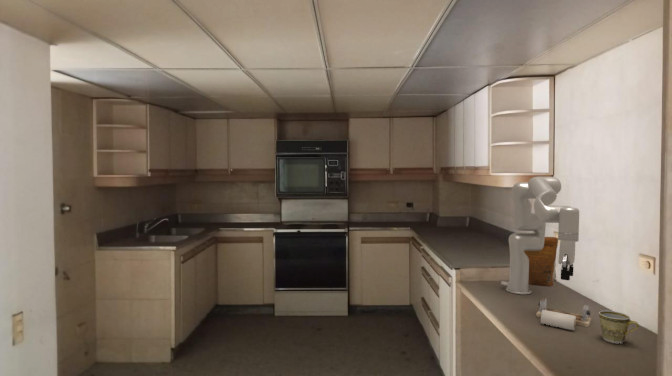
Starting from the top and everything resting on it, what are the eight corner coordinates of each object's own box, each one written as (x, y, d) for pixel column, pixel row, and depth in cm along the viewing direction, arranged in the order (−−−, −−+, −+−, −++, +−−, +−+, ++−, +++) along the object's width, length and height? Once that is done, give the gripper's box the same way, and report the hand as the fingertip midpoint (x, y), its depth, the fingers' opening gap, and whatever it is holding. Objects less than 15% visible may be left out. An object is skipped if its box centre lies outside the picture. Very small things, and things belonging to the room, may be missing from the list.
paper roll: (540, 325, 179) (540, 311, 179) (543, 321, 184) (544, 308, 183) (573, 332, 172) (573, 317, 171) (575, 328, 176) (576, 314, 176)
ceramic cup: (593, 339, 165) (594, 313, 164) (604, 333, 171) (605, 308, 170) (632, 350, 154) (633, 323, 154) (642, 344, 160) (643, 318, 160)
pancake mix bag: (557, 287, 238) (559, 238, 237) (520, 284, 244) (522, 235, 243) (555, 284, 244) (557, 236, 243) (519, 281, 250) (520, 234, 249)
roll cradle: (536, 316, 190) (536, 301, 189) (540, 311, 197) (541, 296, 196) (588, 327, 177) (588, 310, 177) (591, 321, 185) (591, 305, 184)
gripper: (561, 234, 188) (560, 272, 188) (554, 238, 174) (553, 280, 174) (581, 235, 183) (579, 275, 184) (575, 240, 169) (574, 283, 170)
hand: (567, 277), depth 179 cm, fingers open, 9 cm apart
